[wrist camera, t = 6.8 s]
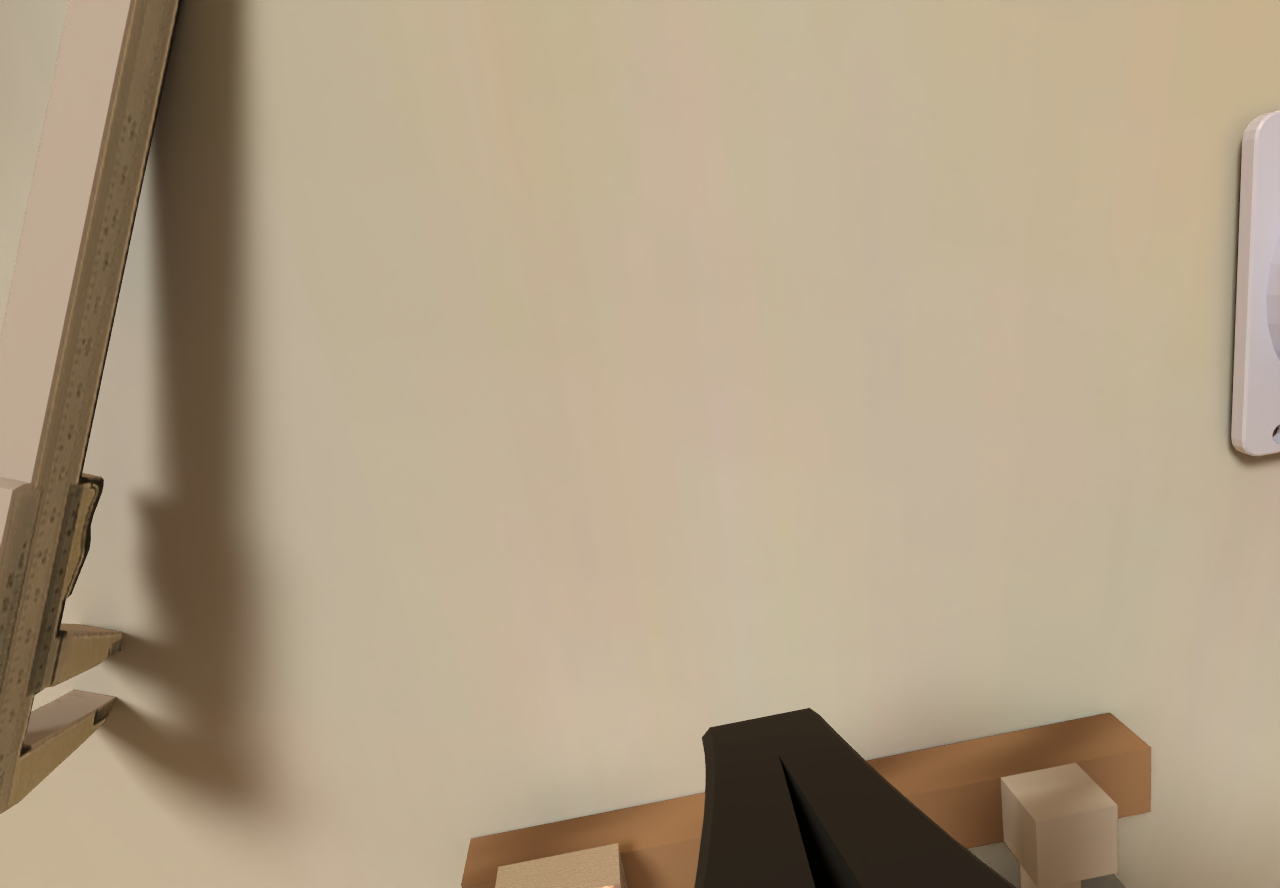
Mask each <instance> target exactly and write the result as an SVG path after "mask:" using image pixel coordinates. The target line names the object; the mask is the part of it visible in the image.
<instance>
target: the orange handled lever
mask: <svg viewBox="0 0 1280 888" xmlns="http://www.w3.org/2000/svg"><path fill="white" fill-rule="evenodd" d="M495 888H628V886H627V881H626V877H625V872H624V867H623V863H622V858H621V854H620V849H619V845H618V843H616V844H611V845H606V846H601V847H596V848H591V849H586V850H581V851H576V852H571V853H566V854H561V855H556V856H550V857H545V858H540V859H535V860H530V861H525V862H520V863H515V864H510V865H505V866H500V867H498V872H497V879H496V886H495Z"/></svg>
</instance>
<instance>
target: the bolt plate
mask: <svg viewBox="0 0 1280 888" xmlns="http://www.w3.org/2000/svg"><path fill="white" fill-rule="evenodd" d="M1081 888H1125V887H1124V886H1123V884H1122V883H1121V882H1120V881H1119V880H1118V879H1117V878H1116V876H1115V875H1114V874H1110V875H1105V876H1100V877H1095V878H1090V879H1085V880H1081Z"/></svg>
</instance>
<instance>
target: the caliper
mask: <svg viewBox="0 0 1280 888" xmlns="http://www.w3.org/2000/svg"><path fill="white" fill-rule="evenodd" d="M181 1H182V0H69V4H68V8H67V13H66V18H65V23H64V28H63V33H62V37H61V42H60V47H59V52H58V57H57V62H56V67H55V72H54V77H53V82H52V86H51V91H50V96H49V101H48V106H47V111H46V116H45V121H44V126H43V131H42V136H41V141H40V146H39V151H38V155H37V160H36V165H35V170H34V175H33V180H32V185H31V190H30V195H29V200H28V205H27V210H26V215H25V219H24V224H23V229H22V234H21V239H20V244H19V249H18V254H17V259H16V264H15V269H14V274H13V279H12V283H11V288H10V293H9V298H8V303H7V308H6V313H5V318H4V323H3V328H2V333H1V338H0V814H1V813H3V812H4V811H6V810H8V809H9V808H11V807H12V806H14V805H15V804H17V803H18V802H20V801H21V800H22V799H23V798H24V797H25V796H26V795H27V794H28V793H29V792H31V791H32V790H33V789H34V788H35V787H36V786H37V785H38V784H39V783H40V782H41V781H42V780H43V779H45V778H46V777H47V776H48V775H49V774H50V773H51V772H52V771H53V770H54V769H55V768H56V767H57V766H59V765H60V764H61V763H62V762H63V761H64V760H65V759H66V758H67V757H68V756H69V755H70V754H71V753H73V752H74V751H75V750H76V749H77V748H78V747H79V746H80V745H81V744H82V743H83V742H84V741H85V740H86V739H87V738H88V737H89V736H90V735H91V734H93V733H94V732H95V731H96V730H97V729H98V728H99V727H100V726H101V725H102V724H103V723H104V722H105V720H106V718H107V716H108V714H109V712H110V711H111V708H112V705H113V702H114V699H115V697H112V696H106V695H100V694H94V693H88V692H83V691H77V690H72V691H71V692H69V693H67V694H65V695H63V696H61V697H60V698H58V699H56V700H54V701H52V702H50V703H48V704H46V705H44V706H42V707H40V708H38V709H36V710H34V711H32V712H31V709H32V705H33V700H34V695H36V694H37V693H39V692H40V691H41V690H43V689H44V688H46V687H53V686H56V685H58V684H60V683H62V682H64V681H66V680H68V679H70V678H72V677H74V676H76V675H78V674H80V673H82V672H84V671H86V670H89V669H91V668H93V667H95V666H97V665H98V664H100V663H102V662H103V661H104V660H105V658H106V657H108V656H110V655H113V654H115V653H118V652H120V651H121V642H122V632H118V631H113V630H107V629H102V628H96V627H91V626H86V625H80V624H61V621H62V616H63V611H64V606H65V601H66V598H68V597H69V596H70V595H71V594H72V591H73V589H74V586H75V584H76V581H77V579H78V576H79V574H80V571H81V569H82V566H83V564H84V561H85V559H86V556H87V554H88V551H89V548H90V541H91V522H92V518H93V515H94V512H95V509H96V507H97V504H98V502H99V499H100V496H101V493H102V489H103V482H104V480H103V478H102V477H99V476H94V475H89V474H85V473H82V471H83V466H84V462H85V457H86V452H87V447H88V442H89V438H90V433H91V428H92V423H93V418H94V414H95V409H96V404H97V399H98V394H99V389H100V385H101V380H102V375H103V370H104V365H105V361H106V356H107V351H108V346H109V341H110V337H111V332H112V327H113V322H114V317H115V313H116V308H117V303H118V298H119V293H120V288H121V284H122V279H123V274H124V269H125V264H126V260H127V255H128V250H129V245H130V240H131V236H132V231H133V226H134V221H135V216H136V212H137V207H138V202H139V197H140V193H141V188H142V183H143V179H144V174H145V169H146V165H147V160H148V155H149V151H150V146H151V141H152V137H153V132H154V127H155V123H156V118H157V113H158V109H159V104H160V99H161V95H162V90H163V85H164V81H165V76H166V71H167V67H168V62H169V57H170V53H171V48H172V43H173V39H174V34H175V29H176V25H177V20H178V15H179V11H180V6H181Z"/></svg>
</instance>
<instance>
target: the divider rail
mask: <svg viewBox="0 0 1280 888" xmlns="http://www.w3.org/2000/svg"><path fill="white" fill-rule="evenodd" d="M866 762H868V763H869V764H870V765H871V766H872V767H873V768H874V769H875V770H876V771H877V772H878V773H879V774H880V775H882V776H883V777H884V778H885V779H886V780H887V781H888V782H889V783H890V784H891V785H892V786H894V787H895V788H896V789H897V790H898V791H899V792H900V793H901V794H902V795H904V796H905V797H906V798H907V799H908V800H909V801H910V802H912V803H913V804H914V805H915V806H916V807H918V808H919V809H920V810H921V811H922V812H923V813H925V814H926V815H927V816H928V817H929V818H930V819H932V820H933V821H934V822H935V823H936V824H937V825H939V826H940V827H941V828H942V829H943V830H944V831H946V832H947V833H948V834H949V835H950V836H951V837H953V838H954V839H955V840H956V841H957V842H959V843H960V844H961V845H962V846H964V847H965V848H966V849H967V848H972V847H977V846H982V845H987V844H992V843H997V842H1002V841H1004V842H1005V843H1006V845H1007V846H1008V847H1009V849H1010V850H1011V852H1012V853H1013V854H1014V856H1015V857H1016V859H1017V860H1018V861H1019V863H1020V878H1021V888H1081V880H1085V879H1090V878H1095V877H1100V876H1105V875H1110V874H1115V873H1118V818H1121V817H1126V816H1131V815H1136V814H1141V813H1146V812H1150V799H1151V747H1150V746H1148V745H1147V744H1146V743H1145V742H1144V741H1143V740H1141V739H1140V738H1139V737H1138V736H1137V735H1136V734H1134V733H1133V732H1132V731H1131V730H1130V729H1129V728H1127V727H1126V726H1125V725H1124V724H1123V723H1122V722H1120V721H1119V720H1118V719H1117V718H1116V717H1115V716H1113V715H1112V714H1111V713H1106V714H1100V715H1095V716H1090V717H1085V718H1080V719H1075V720H1070V721H1065V722H1060V723H1055V724H1050V725H1045V726H1040V727H1035V728H1030V729H1025V730H1020V731H1014V732H1009V733H1004V734H999V735H994V736H989V737H984V738H979V739H974V740H969V741H964V742H959V743H954V744H949V745H944V746H939V747H934V748H928V749H923V750H918V751H913V752H908V753H903V754H898V755H893V756H888V757H883V758H878V759H873V760H868V761H866ZM704 804H705V793H701V794H696V795H691V796H686V797H681V798H676V799H671V800H665V801H660V802H655V803H650V804H645V805H640V806H635V807H630V808H625V809H620V810H615V811H610V812H605V813H600V814H595V815H590V816H585V817H579V818H574V819H569V820H564V821H559V822H554V823H549V824H544V825H539V826H534V827H529V828H524V829H519V830H514V831H509V832H504V833H499V834H493V835H488V836H483V837H478V838H473V839H471V840H470V845H469V850H468V855H467V860H466V864H465V869H464V874H463V879H462V884H461V886H462V888H495V886H496V879H497V872H498V867H500V866H505V865H510V864H515V863H520V862H525V861H530V860H535V859H540V858H545V857H550V856H556V855H561V854H566V853H571V852H576V851H581V850H586V849H591V848H596V847H601V846H606V845H611V844H616V843H618V845H619V849H620V854H621V858H622V863H623V867H624V872H625V877H626V881H627V886H628V888H694V886H695V880H696V873H697V866H698V858H699V850H700V842H701V834H702V826H703V818H704Z"/></svg>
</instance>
